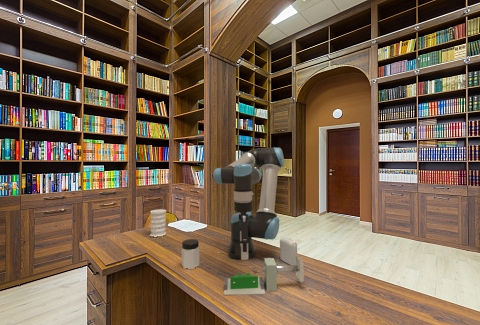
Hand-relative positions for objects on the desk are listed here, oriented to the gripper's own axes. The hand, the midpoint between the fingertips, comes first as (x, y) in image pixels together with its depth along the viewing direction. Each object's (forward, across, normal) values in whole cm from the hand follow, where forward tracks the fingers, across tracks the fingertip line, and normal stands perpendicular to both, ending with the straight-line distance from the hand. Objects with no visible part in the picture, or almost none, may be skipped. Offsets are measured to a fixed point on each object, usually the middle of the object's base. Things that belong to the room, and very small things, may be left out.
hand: (244, 252), depth 91 cm
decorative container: (+15, +68, +59) cm, 92 cm away
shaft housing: (+14, -1, -11) cm, 18 cm away
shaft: (+11, -1, -16) cm, 19 cm away
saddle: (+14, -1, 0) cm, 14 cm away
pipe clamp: (+14, -1, 0) cm, 14 cm away
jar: (+14, +19, +26) cm, 36 cm away
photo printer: (+15, +21, -24) cm, 35 cm away
